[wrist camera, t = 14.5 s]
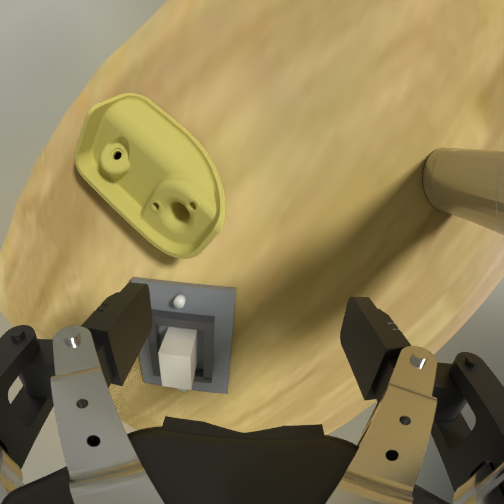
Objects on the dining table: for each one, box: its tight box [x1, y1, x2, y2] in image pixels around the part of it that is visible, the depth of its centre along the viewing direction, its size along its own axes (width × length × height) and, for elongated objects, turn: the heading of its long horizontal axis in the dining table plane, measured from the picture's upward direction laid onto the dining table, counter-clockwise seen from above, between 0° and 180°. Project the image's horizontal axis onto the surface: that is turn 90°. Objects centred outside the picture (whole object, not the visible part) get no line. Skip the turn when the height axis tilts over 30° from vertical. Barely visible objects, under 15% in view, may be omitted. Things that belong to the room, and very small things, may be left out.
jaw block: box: [158, 327, 197, 390], centre depth 35 cm, size 4×6×6 cm, turn 174°
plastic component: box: [75, 93, 226, 259], centre depth 30 cm, size 20×7×10 cm
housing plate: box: [131, 277, 236, 394], centre depth 37 cm, size 14×19×3 cm
